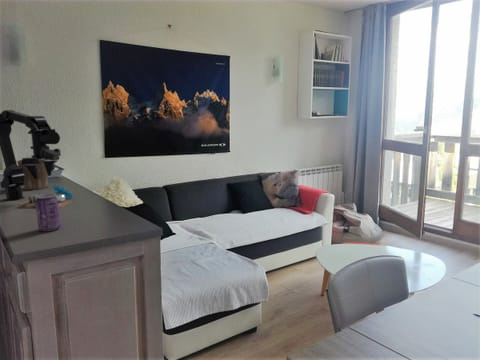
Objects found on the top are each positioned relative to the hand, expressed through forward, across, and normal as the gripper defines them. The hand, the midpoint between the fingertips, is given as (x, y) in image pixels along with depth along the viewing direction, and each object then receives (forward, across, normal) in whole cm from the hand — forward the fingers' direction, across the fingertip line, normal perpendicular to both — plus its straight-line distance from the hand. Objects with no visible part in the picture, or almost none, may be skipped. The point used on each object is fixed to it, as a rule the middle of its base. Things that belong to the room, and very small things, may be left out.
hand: (42, 177), depth 185 cm
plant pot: (+13, +33, +31) cm, 47 cm away
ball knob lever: (+10, -7, -7) cm, 14 cm away
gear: (+12, +5, -6) cm, 14 cm away
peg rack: (+11, -7, -5) cm, 14 cm away
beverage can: (+11, -42, -34) cm, 55 cm away
